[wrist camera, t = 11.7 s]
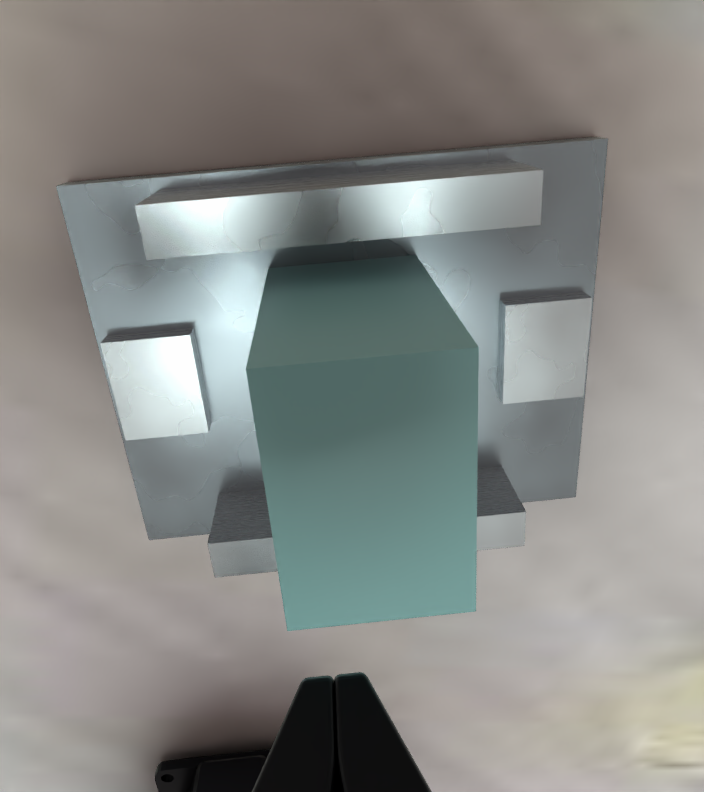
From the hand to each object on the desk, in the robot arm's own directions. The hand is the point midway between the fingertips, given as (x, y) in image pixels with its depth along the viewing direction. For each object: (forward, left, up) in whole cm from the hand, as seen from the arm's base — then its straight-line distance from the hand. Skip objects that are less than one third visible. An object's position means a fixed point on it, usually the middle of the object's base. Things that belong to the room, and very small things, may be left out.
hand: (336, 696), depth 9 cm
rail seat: (0, -1, -12) cm, 12 cm away
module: (0, -1, -11) cm, 11 cm away
